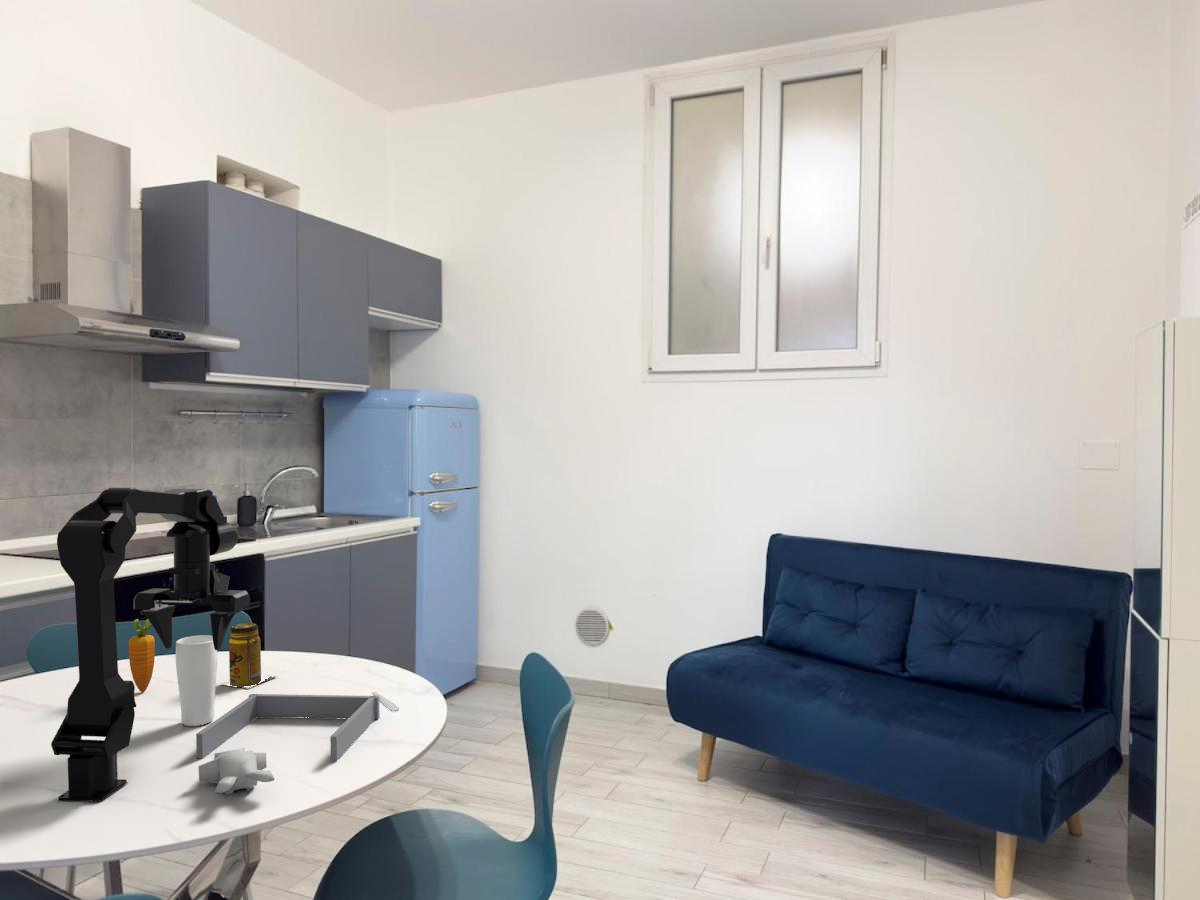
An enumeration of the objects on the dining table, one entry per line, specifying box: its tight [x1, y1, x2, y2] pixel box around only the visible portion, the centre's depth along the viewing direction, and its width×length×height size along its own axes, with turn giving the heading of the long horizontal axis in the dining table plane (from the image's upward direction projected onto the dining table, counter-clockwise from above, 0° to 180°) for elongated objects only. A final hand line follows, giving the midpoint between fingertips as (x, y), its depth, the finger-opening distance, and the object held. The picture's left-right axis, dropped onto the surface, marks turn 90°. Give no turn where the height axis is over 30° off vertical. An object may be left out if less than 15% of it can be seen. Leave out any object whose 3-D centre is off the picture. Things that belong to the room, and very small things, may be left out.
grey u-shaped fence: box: [195, 693, 381, 762], centre depth 147 cm, size 20×24×4 cm
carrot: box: [128, 618, 156, 693], centre depth 171 cm, size 5×5×15 cm
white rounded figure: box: [198, 747, 275, 795], centre depth 127 cm, size 10×5×15 cm
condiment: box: [224, 622, 278, 690], centre depth 178 cm, size 7×8×12 cm
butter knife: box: [371, 691, 400, 712], centre depth 171 cm, size 1×27×3 cm
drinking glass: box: [175, 634, 218, 727], centre depth 154 cm, size 7×7×15 cm
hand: (193, 648), depth 151 cm, fingers open, 9 cm apart
